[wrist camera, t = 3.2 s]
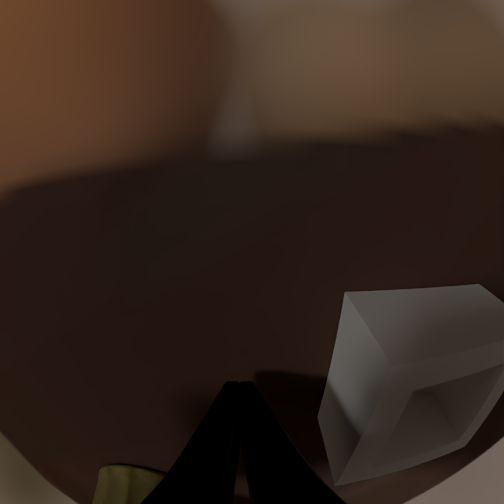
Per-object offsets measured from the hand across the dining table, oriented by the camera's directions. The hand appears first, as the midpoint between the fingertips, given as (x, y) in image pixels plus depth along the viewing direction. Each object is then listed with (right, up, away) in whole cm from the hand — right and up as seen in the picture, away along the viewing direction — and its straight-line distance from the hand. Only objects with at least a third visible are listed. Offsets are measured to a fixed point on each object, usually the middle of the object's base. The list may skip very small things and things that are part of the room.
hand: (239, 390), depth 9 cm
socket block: (+6, 0, +1) cm, 6 cm away
